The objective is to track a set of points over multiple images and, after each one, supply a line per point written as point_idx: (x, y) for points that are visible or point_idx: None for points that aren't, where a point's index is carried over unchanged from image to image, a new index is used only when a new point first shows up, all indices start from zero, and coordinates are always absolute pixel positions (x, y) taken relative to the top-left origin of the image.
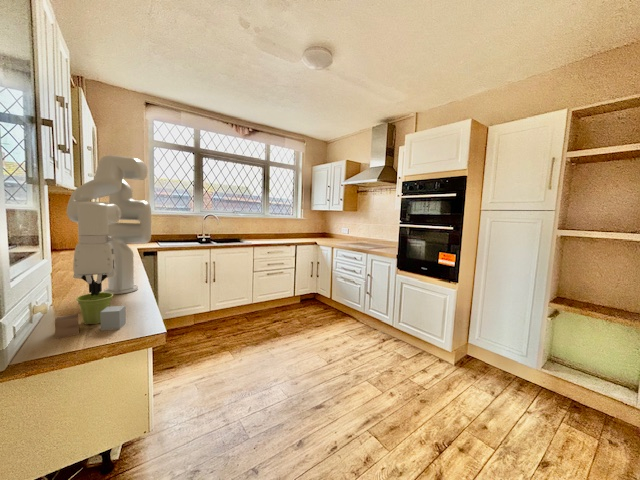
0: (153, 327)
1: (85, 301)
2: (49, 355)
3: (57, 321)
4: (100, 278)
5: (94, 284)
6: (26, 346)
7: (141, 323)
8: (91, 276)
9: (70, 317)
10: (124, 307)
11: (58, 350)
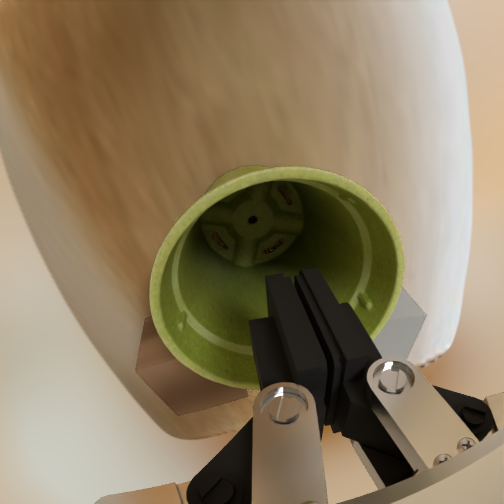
0: (447, 317)
1: (255, 386)
2: (228, 431)
3: (181, 410)
4: (401, 462)
5: (325, 425)
6: (132, 391)
7: (427, 280)
8: (302, 476)
9: (207, 385)
10: (419, 322)
11: (235, 418)
